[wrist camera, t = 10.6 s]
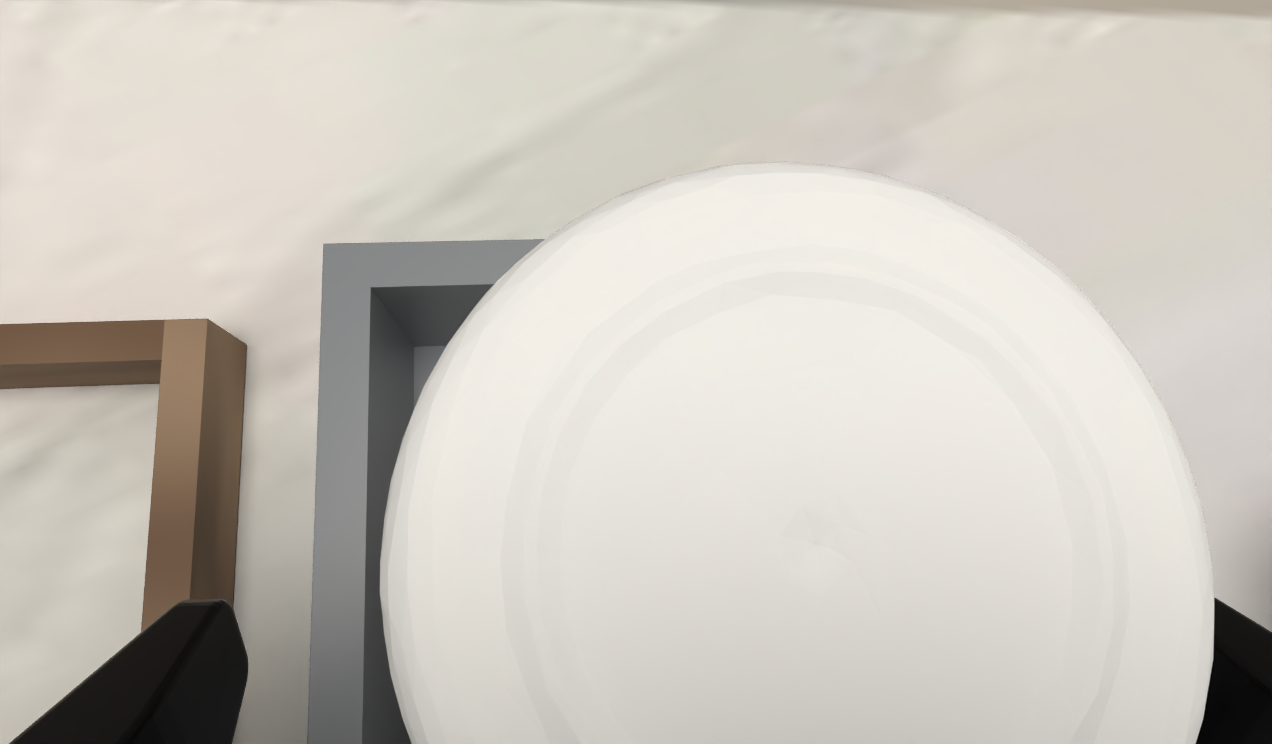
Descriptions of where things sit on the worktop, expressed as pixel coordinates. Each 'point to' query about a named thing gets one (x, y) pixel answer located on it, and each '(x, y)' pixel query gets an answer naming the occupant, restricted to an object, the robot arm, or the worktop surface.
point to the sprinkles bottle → (793, 488)
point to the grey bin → (374, 451)
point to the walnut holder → (161, 433)
